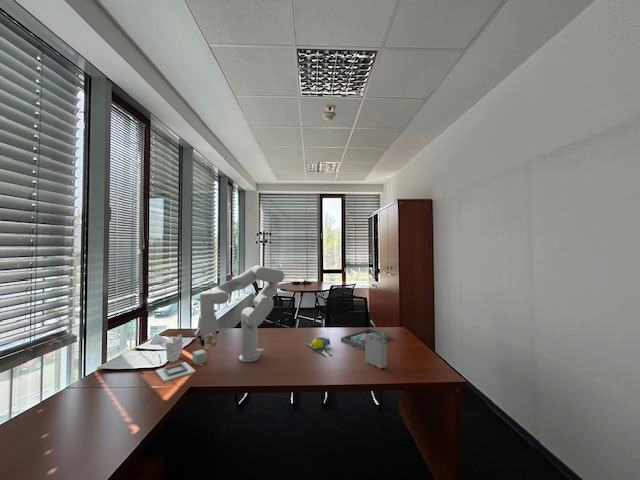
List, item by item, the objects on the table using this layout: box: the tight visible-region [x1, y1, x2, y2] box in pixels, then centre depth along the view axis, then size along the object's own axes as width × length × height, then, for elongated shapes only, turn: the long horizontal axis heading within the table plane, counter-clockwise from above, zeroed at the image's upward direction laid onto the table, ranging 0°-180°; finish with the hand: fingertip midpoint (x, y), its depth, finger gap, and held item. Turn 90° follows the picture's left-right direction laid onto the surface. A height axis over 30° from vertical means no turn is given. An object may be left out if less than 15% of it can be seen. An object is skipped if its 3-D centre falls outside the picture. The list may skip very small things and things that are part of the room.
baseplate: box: [155, 361, 196, 383], centre depth 160 cm, size 16×16×2 cm
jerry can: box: [364, 326, 390, 368], centre depth 169 cm, size 15×5×25 cm, turn 35°
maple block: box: [201, 333, 217, 350], centre depth 166 cm, size 6×6×6 cm
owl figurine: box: [304, 336, 331, 355], centre depth 195 cm, size 28×9×15 cm
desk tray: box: [340, 327, 392, 350], centre depth 212 cm, size 33×21×3 cm, turn 133°
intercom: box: [349, 333, 383, 344], centre depth 214 cm, size 13×4×25 cm
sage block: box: [192, 348, 207, 365], centre depth 174 cm, size 6×6×6 cm
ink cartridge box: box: [165, 333, 183, 363], centre depth 177 cm, size 9×5×15 cm, turn 168°
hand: (208, 344), depth 166 cm, fingers closed on maple block, 6 cm apart
